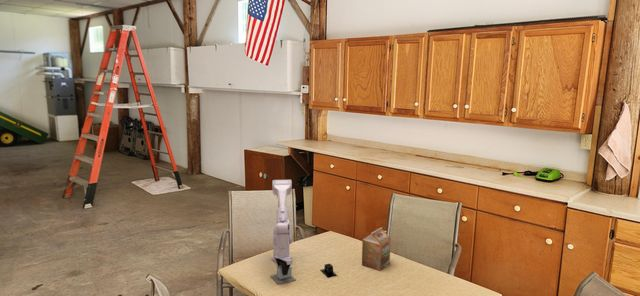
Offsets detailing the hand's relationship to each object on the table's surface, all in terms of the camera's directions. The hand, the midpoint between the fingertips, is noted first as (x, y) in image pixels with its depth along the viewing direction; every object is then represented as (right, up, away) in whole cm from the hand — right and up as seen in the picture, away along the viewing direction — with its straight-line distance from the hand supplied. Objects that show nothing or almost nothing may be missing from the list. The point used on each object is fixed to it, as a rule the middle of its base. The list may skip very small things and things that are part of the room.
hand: (283, 273), depth 207 cm
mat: (0, -3, +1) cm, 3 cm away
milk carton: (+47, -1, +17) cm, 50 cm away
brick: (0, -2, +1) cm, 2 cm away
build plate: (+22, -3, +7) cm, 23 cm away
